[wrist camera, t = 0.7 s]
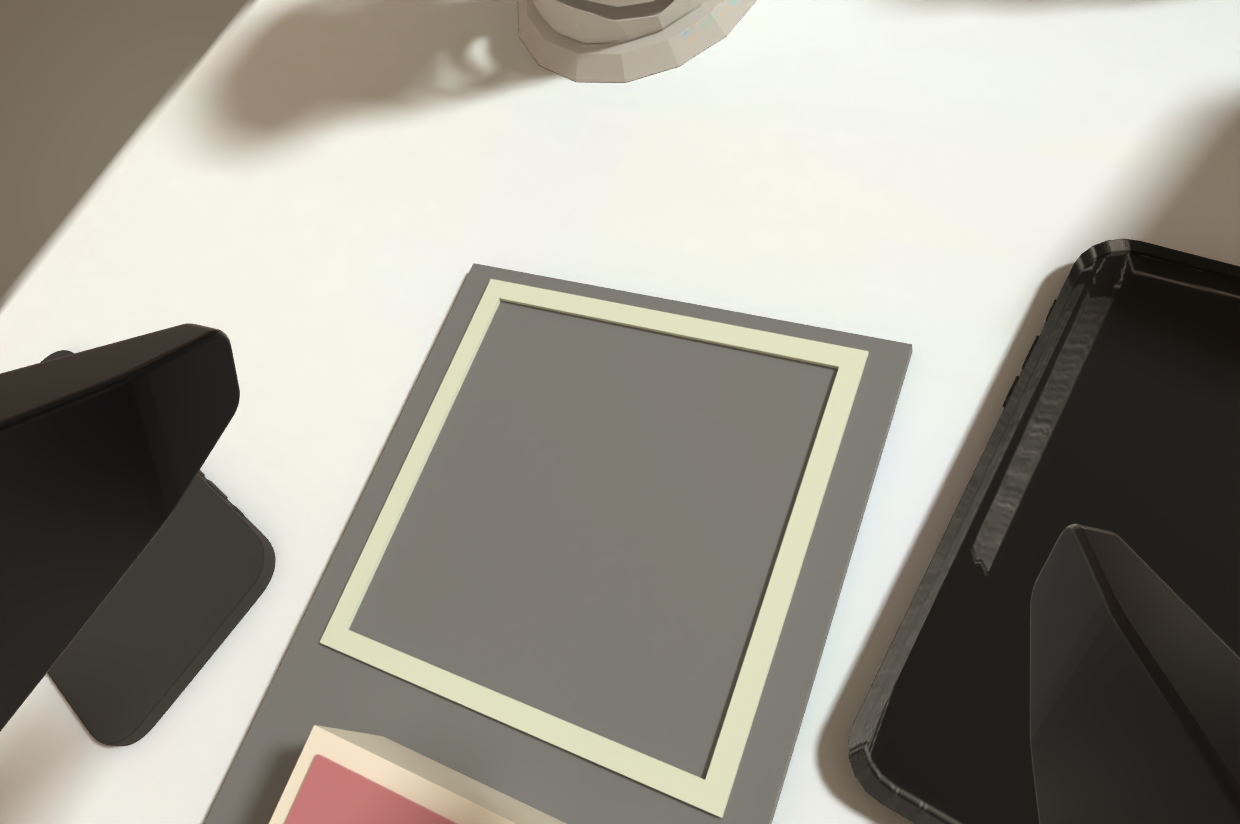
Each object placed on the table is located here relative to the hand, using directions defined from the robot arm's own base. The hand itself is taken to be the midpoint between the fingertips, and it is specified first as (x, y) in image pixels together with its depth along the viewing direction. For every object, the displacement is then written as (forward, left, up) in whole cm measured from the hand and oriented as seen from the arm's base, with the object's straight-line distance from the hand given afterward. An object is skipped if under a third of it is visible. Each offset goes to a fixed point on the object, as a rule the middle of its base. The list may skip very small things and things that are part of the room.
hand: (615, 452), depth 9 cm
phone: (-3, +23, -14) cm, 28 cm away
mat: (-3, +6, -14) cm, 16 cm away
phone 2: (+5, -7, -14) cm, 17 cm away
